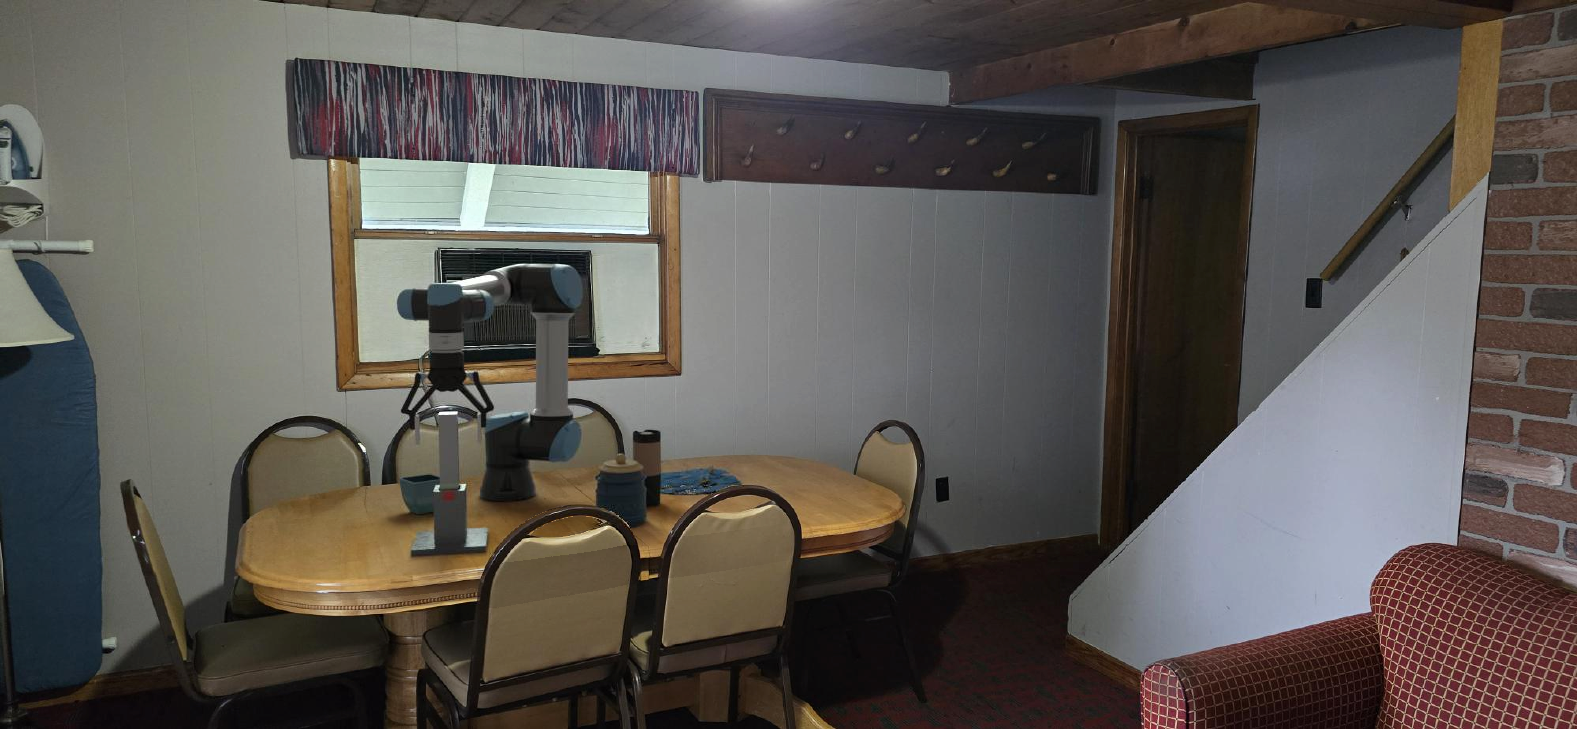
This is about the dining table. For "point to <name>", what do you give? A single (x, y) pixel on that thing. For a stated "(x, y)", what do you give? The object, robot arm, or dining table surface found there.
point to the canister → (622, 490)
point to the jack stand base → (450, 527)
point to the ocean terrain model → (697, 480)
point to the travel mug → (649, 462)
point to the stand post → (448, 450)
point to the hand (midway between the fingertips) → (449, 442)
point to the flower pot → (419, 492)
